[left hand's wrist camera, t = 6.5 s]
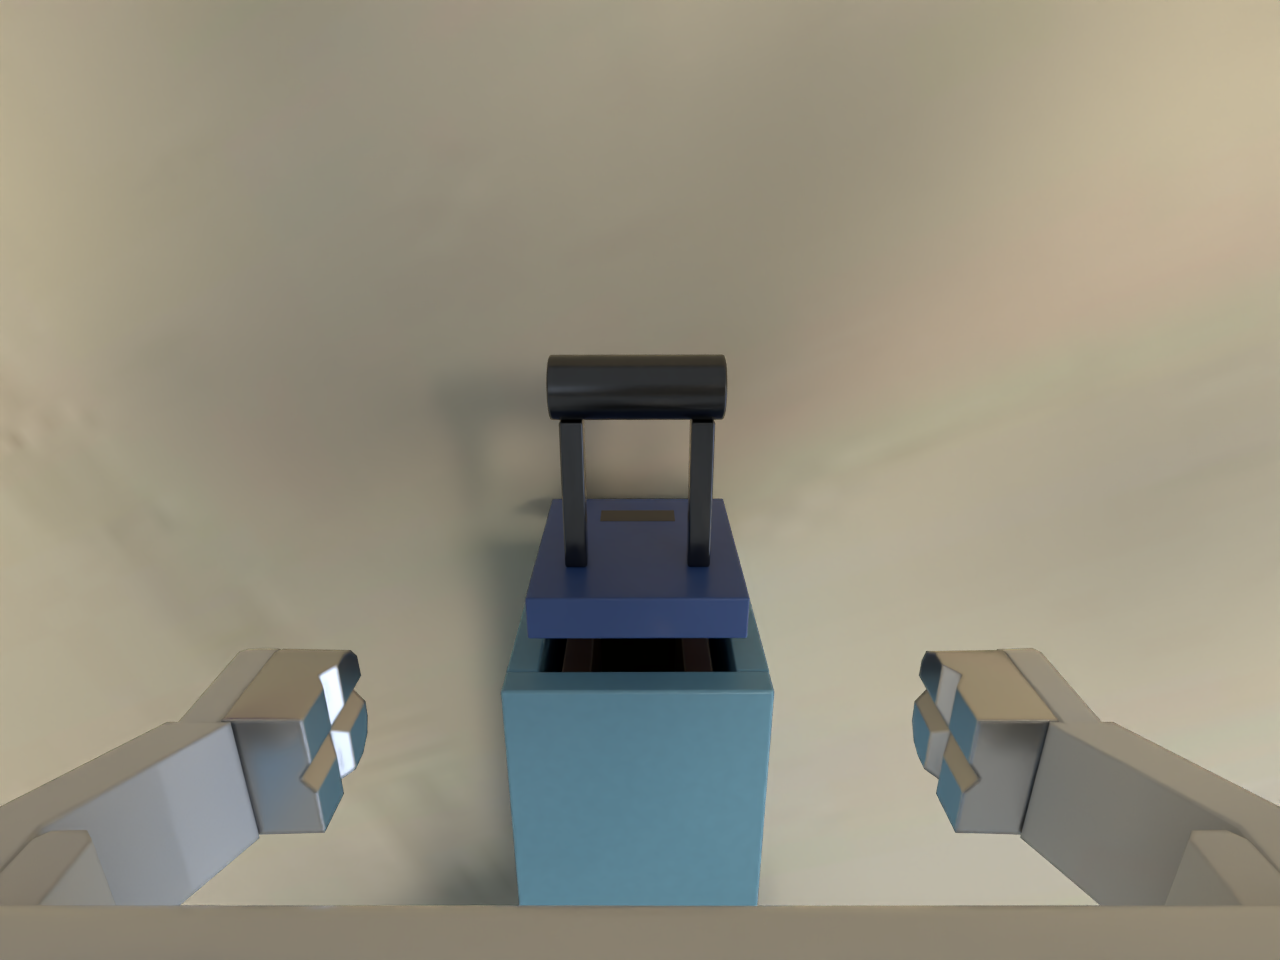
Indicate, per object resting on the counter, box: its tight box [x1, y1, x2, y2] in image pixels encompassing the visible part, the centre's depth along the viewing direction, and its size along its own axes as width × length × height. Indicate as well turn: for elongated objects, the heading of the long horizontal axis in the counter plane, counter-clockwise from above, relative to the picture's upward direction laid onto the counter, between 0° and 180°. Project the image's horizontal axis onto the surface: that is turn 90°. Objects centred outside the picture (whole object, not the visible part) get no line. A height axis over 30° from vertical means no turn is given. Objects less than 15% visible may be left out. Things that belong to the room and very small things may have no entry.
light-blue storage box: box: [501, 568, 774, 906], centre depth 26 cm, size 21×7×8 cm, turn 0°
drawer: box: [525, 355, 750, 672], centre depth 24 cm, size 25×6×6 cm, turn 0°
